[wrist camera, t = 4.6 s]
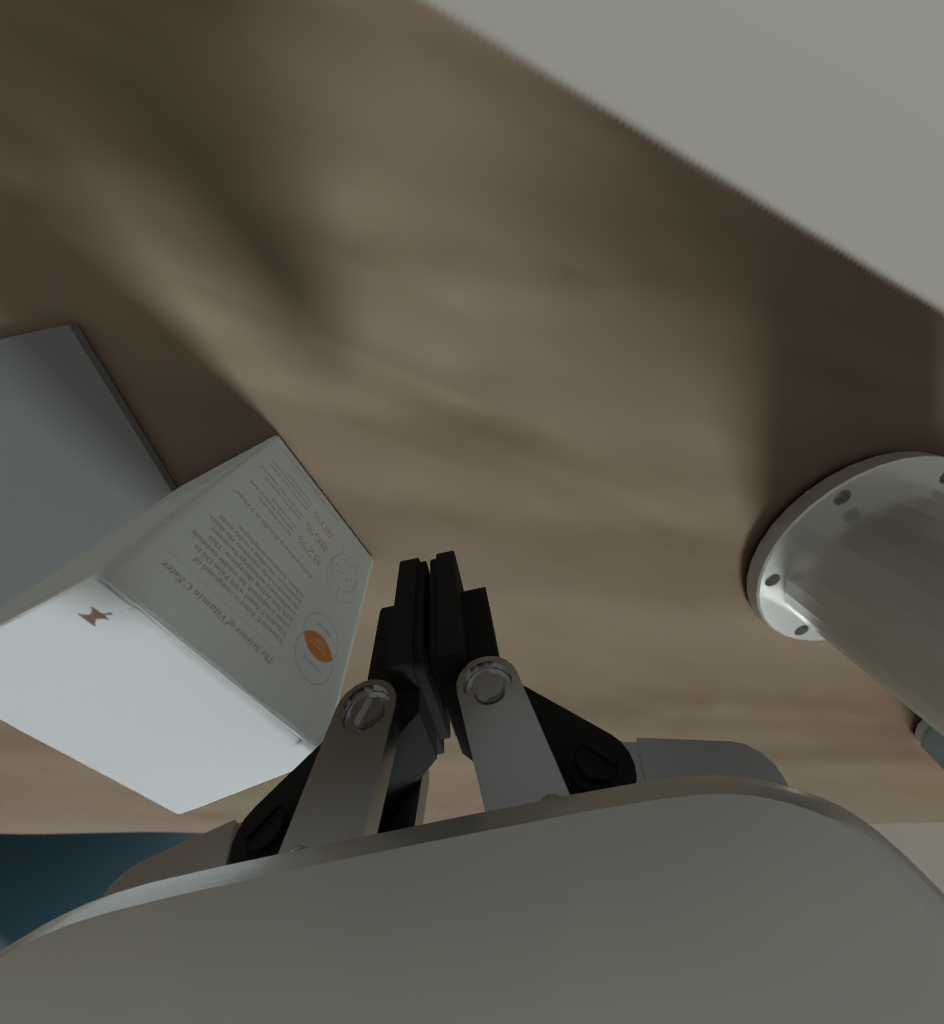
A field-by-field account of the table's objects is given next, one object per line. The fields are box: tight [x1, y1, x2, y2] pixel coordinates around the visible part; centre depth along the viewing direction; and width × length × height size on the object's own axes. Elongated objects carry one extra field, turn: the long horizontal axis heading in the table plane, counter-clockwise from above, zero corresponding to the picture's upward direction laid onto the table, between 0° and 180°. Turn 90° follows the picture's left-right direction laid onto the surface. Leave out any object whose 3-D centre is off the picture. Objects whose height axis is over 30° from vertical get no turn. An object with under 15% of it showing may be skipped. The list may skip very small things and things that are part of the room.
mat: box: [0, 324, 177, 608], centre depth 19 cm, size 12×20×1 cm, turn 11°
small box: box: [0, 436, 373, 814], centre depth 14 cm, size 8×6×10 cm
